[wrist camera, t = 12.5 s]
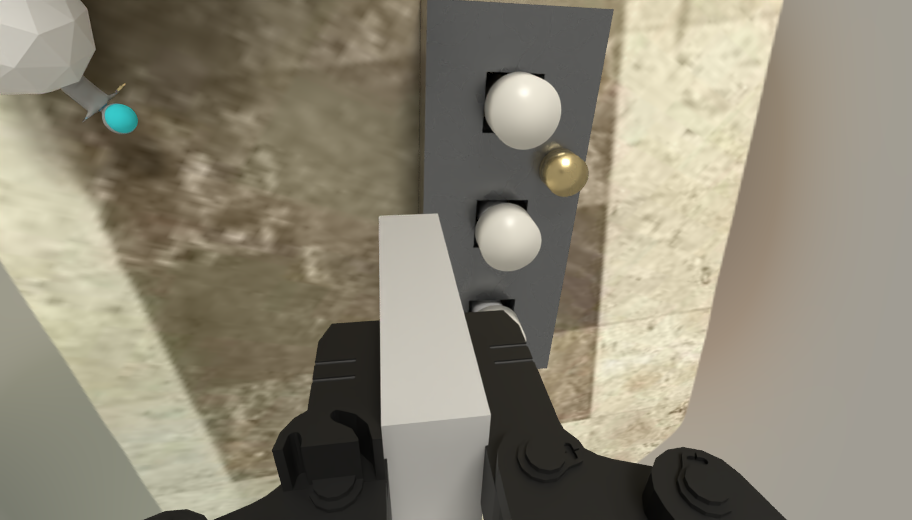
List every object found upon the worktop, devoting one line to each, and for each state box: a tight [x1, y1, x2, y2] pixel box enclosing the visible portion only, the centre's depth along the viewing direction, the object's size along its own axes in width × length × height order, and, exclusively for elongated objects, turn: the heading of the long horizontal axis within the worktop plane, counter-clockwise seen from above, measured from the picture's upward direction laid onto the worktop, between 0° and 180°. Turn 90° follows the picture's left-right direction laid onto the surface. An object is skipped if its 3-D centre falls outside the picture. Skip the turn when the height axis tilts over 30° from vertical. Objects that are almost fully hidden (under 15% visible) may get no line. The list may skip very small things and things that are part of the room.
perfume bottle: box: [0, 0, 138, 134], centre depth 28 cm, size 8×8×12 cm
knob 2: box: [469, 300, 526, 341], centre depth 41 cm, size 4×4×8 cm
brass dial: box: [539, 148, 588, 197], centre depth 34 cm, size 3×3×2 cm
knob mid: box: [475, 200, 541, 271], centre depth 37 cm, size 4×4×8 cm
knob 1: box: [484, 72, 561, 150], centre depth 32 cm, size 4×4×8 cm
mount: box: [418, 0, 614, 369], centre depth 38 cm, size 30×12×5 cm, turn 177°
